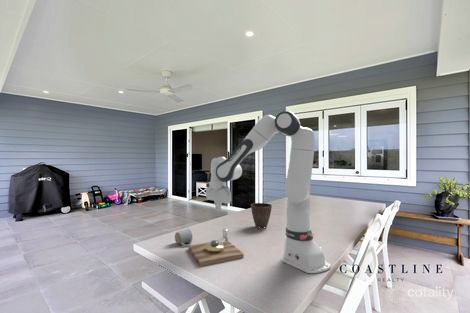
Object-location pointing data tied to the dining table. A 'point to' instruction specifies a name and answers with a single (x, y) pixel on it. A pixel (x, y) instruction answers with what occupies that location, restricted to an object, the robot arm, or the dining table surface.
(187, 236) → the ceramic mug
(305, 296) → the dining table surface
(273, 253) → the dining table surface
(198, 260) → the brown flat wooden board
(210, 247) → the brass and silver crank
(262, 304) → the dining table surface
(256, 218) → the plant pot
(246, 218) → the dining table surface
